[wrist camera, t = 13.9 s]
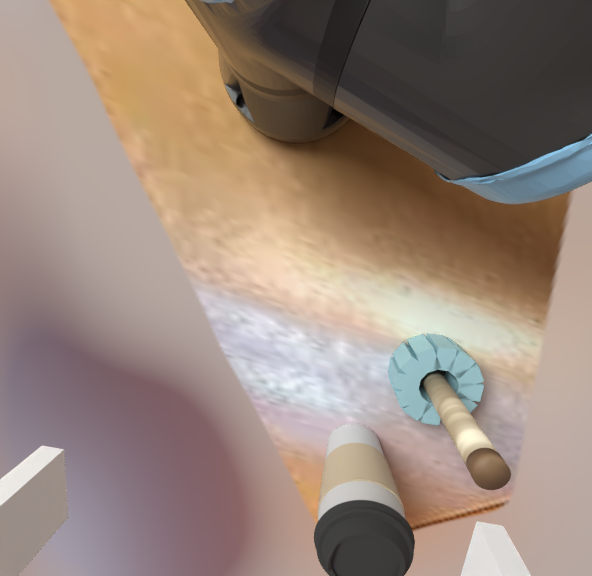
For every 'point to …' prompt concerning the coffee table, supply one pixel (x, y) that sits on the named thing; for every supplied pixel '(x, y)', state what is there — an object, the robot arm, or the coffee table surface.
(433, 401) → the tan cylindrical rod
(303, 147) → the coffee table surface
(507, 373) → the coffee table surface
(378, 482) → the coffee cup
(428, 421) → the bead
